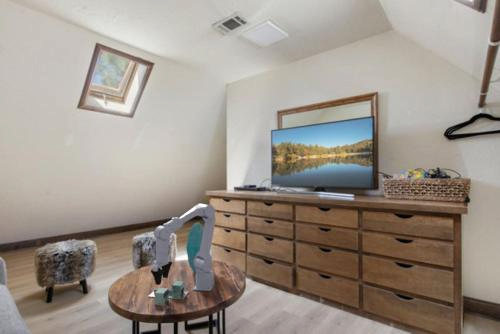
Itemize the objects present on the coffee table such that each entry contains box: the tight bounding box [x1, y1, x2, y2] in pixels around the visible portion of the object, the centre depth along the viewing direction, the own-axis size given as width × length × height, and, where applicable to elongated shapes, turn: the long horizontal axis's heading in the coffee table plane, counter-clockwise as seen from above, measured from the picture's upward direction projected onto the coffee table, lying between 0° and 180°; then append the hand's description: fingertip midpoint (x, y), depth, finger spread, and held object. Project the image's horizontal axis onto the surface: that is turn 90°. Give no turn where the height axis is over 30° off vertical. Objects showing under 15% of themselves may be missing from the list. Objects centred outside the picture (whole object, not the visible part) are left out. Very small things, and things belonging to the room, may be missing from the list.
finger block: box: [154, 287, 170, 306], centre depth 122 cm, size 4×5×6 cm
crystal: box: [185, 222, 204, 273], centre depth 160 cm, size 12×14×30 cm
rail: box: [147, 280, 190, 300], centre depth 130 cm, size 18×7×6 cm, turn 84°
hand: (161, 281), depth 123 cm, fingers open, 7 cm apart
